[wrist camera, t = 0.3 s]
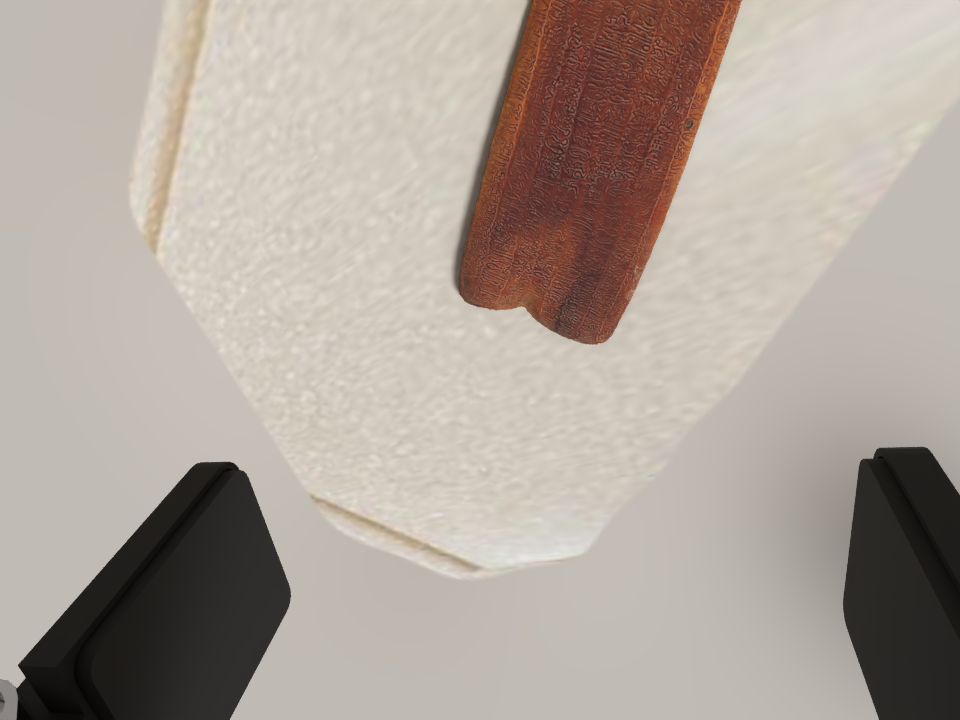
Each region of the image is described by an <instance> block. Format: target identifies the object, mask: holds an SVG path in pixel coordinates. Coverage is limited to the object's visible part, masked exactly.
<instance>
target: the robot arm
mask: <svg viewBox="0 0 960 720" xmlns="http://www.w3.org/2000/svg"><path fill="white" fill-rule="evenodd" d="M290 598H291V592H290V587H289V583H288V581H287V578H286V575H285V573H284V570H283V567H282V565H281V562H280V560H279V557H278V554H277V552H276V549H275V547H274V544H273V541H272V539H271V536H270V533H269V531H268V528H267V525H266V523H265V520H264V517H263V515H262V512H261V510H260V507H259V504H258V502H257V499H256V496H255V494H254V491H253V488H252V486H251V483H250V481H249V478H248V476H247V474H246V473H245V472H244V471H241V470H239V468H238V467H237V466H236V465H235V464H234V463H231V462H203V463H202V462H201V463H197V464H195V465H194V466H193V467H192V468H191V469H190V470H189V471H188V472H187V474H186V475H185V476H184V477H183V478H182V479H181V480H180V481H179V483H178V484H177V485H176V486H175V487H174V488H173V489H172V491H171V492H170V493H169V494H168V495H167V496H166V497H165V498H164V500H163V501H162V502H161V503H160V504H159V505H158V507H157V508H156V509H155V510H154V511H153V512H152V513H151V514H150V516H149V517H148V518H147V519H146V520H145V521H144V522H143V524H142V525H141V526H140V527H139V528H138V529H137V530H136V532H135V533H134V534H133V535H132V536H131V537H130V538H129V539H128V541H127V542H126V543H125V544H124V545H123V546H122V548H121V549H120V550H119V551H118V552H117V553H116V554H115V555H114V557H113V558H112V559H111V560H110V561H109V562H108V563H107V564H106V566H105V567H104V568H103V569H102V570H101V571H100V573H99V574H98V575H97V576H96V577H95V578H94V579H93V580H92V582H91V583H90V584H89V585H88V586H87V587H86V588H85V590H84V591H83V592H82V593H81V594H80V595H79V596H78V598H77V599H76V600H75V601H74V602H73V603H72V604H71V605H70V607H69V608H68V609H67V610H66V611H65V612H64V613H63V615H62V616H61V617H60V618H59V619H58V620H57V621H56V622H55V624H54V625H53V626H52V627H51V628H50V629H49V630H48V632H47V633H46V634H45V635H44V636H43V637H42V638H41V640H40V641H39V642H38V643H37V644H36V645H35V646H34V648H33V649H32V650H31V651H30V652H29V653H28V654H27V656H26V657H25V658H24V659H23V660H22V661H21V662H20V663H19V665H18V666H19V668H20V669H21V671H22V672H23V674H24V675H25V677H26V678H25V680H24V681H23V682H22V683H21V684H20V686H19V687H18V688H16V687H14V685H12V684H11V683H10V682H9V681H7V680H1V679H0V720H230V718H231V716H232V714H233V712H234V710H235V708H236V707H237V705H238V703H239V701H240V699H241V697H242V695H243V693H244V691H245V689H246V688H247V686H248V684H249V682H250V680H251V678H252V676H253V674H254V672H255V670H256V669H257V667H258V665H259V663H260V661H261V659H262V657H263V655H264V654H265V652H266V650H267V648H268V646H269V644H270V642H271V640H272V638H273V637H274V635H275V633H276V631H277V629H278V627H279V625H280V623H281V621H282V619H283V617H284V616H285V614H286V612H287V610H288V607H289V604H290ZM843 609H844V617H845V622H846V626H847V629H848V632H849V635H850V638H851V641H852V644H853V647H854V649H855V652H856V655H857V658H858V661H859V664H860V666H861V669H862V672H863V675H864V678H865V681H866V684H867V686H868V689H869V692H870V695H871V698H872V700H873V703H874V706H875V709H876V712H877V715H878V717H879V720H960V495H959V493H958V492H957V490H956V489H955V487H954V486H953V484H952V483H951V481H950V480H949V478H948V477H947V475H946V474H945V472H944V471H943V469H942V468H941V466H940V465H939V463H938V462H937V460H936V459H935V457H934V456H933V454H932V453H931V452H930V450H928V448H925V447H898V448H879V449H877V450H876V452H875V454H874V458H873V459H863V460H861V462H860V466H859V472H858V480H857V488H856V497H855V505H854V514H853V522H852V531H851V539H850V548H849V557H848V564H847V573H846V582H845V590H844V598H843Z"/></svg>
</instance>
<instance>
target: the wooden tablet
mask: <svg viewBox="0 0 960 720" xmlns="http://www.w3.org/2000/svg"><path fill="white" fill-rule="evenodd" d="M741 2H742V0H532V4H531V9H530V12H529V15H528V18H527V23H526V27H525V30H524V33H523V37H522V41H521V44H520V48H519V51H518V54H517V58H516V61H515V65H514V68H513V71H512V75H511V78H510V82H509V85H508V89H507V93H506V96H505V99H504V104H503V108H502V110H501V114H500V117H499V121H498V125H497V128H496V131H495V134H494V138H493V141H492V145H491V149H490V153H489V158H488V162H487V165H486V169H485V172H484V176H483V180H482V184H481V189H480V193H479V197H478V200H477V203H476V208H475V212H474V214H473V219H472V223H471V226H470V230H469V234H468V238H467V241H466V246H465V251H464V254H463V259H462V263H461V271H460V278H459V291H460V295H461V296H462V298H463V299H464V301H465V302H467V303H468V304H471V305H474V306H477V307H482V308H488V309H494V310H507V309H513V308H517V307H520V306H522V307H525V308H526V309H527V311H528V312H529V313H530V314H531V315H532V317H533V318H535V319H536V320H537V321H538V322H539V323H541V324H542V325H543V326H545V327H547V328H548V329H549V330H551V331H553V332H555V333H558V334H559V335H561V336H563V337H566V338H568V339H572V340H574V341H577V342H580V343H583V344H598V343H604V342H605V341H606V340H608V339H609V337H610V336H612V334H613V332H614V330H615V329H616V327H617V325H618V322H619V321H620V319H621V317H622V315H623V313H624V311H625V309H626V307H627V306H628V304H629V302H630V300H631V298H632V296H633V294H634V291H635V289H636V287H637V284H638V282H639V280H640V277H641V275H642V273H643V271H644V268H645V265H646V263H647V261H648V259H649V257H650V255H651V252H652V249H653V246H654V244H655V242H656V240H657V237H658V235H659V232H660V230H661V227H662V225H663V223H664V220H665V217H666V214H667V211H668V209H669V207H670V204H671V202H672V199H673V196H674V194H675V191H676V188H677V185H678V183H679V181H680V178H681V176H682V173H683V171H684V168H685V165H686V163H687V160H688V157H689V154H690V151H691V148H692V145H693V142H694V138H695V135H696V133H697V130H698V127H699V125H700V122H701V119H702V115H703V112H704V109H705V107H706V104H707V102H708V99H709V96H710V93H711V90H712V88H713V85H714V82H715V79H716V76H717V73H718V70H719V67H720V64H721V61H722V58H723V55H724V52H725V50H726V47H727V44H728V41H729V38H730V35H731V32H732V29H733V26H734V23H735V20H736V17H737V14H738V11H739V8H740V5H741Z"/></svg>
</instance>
